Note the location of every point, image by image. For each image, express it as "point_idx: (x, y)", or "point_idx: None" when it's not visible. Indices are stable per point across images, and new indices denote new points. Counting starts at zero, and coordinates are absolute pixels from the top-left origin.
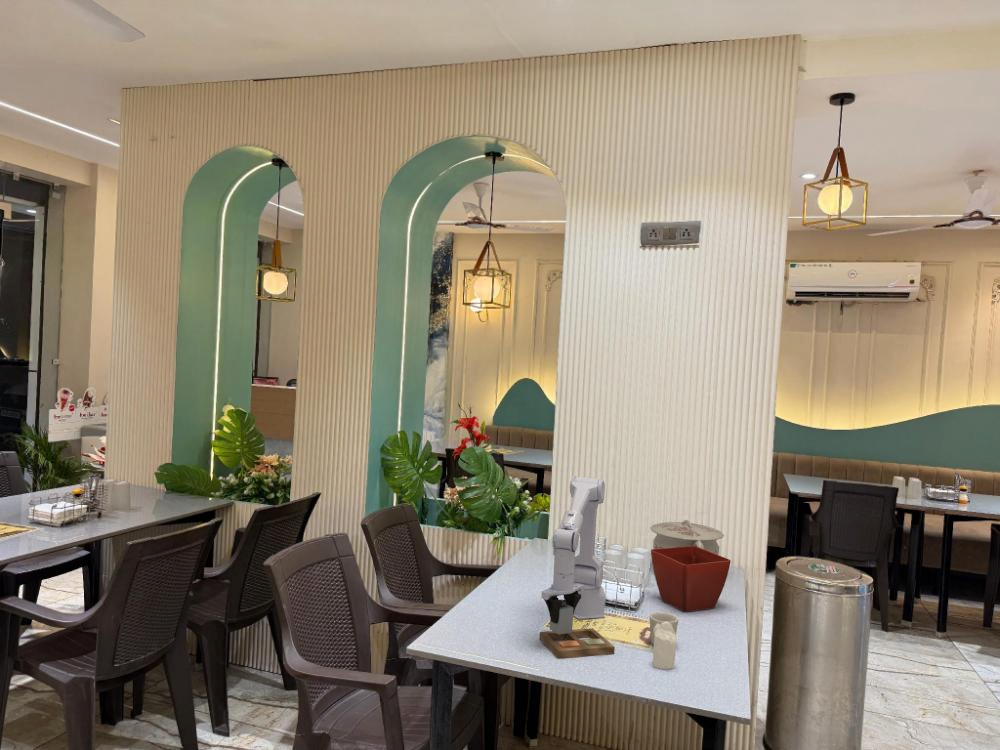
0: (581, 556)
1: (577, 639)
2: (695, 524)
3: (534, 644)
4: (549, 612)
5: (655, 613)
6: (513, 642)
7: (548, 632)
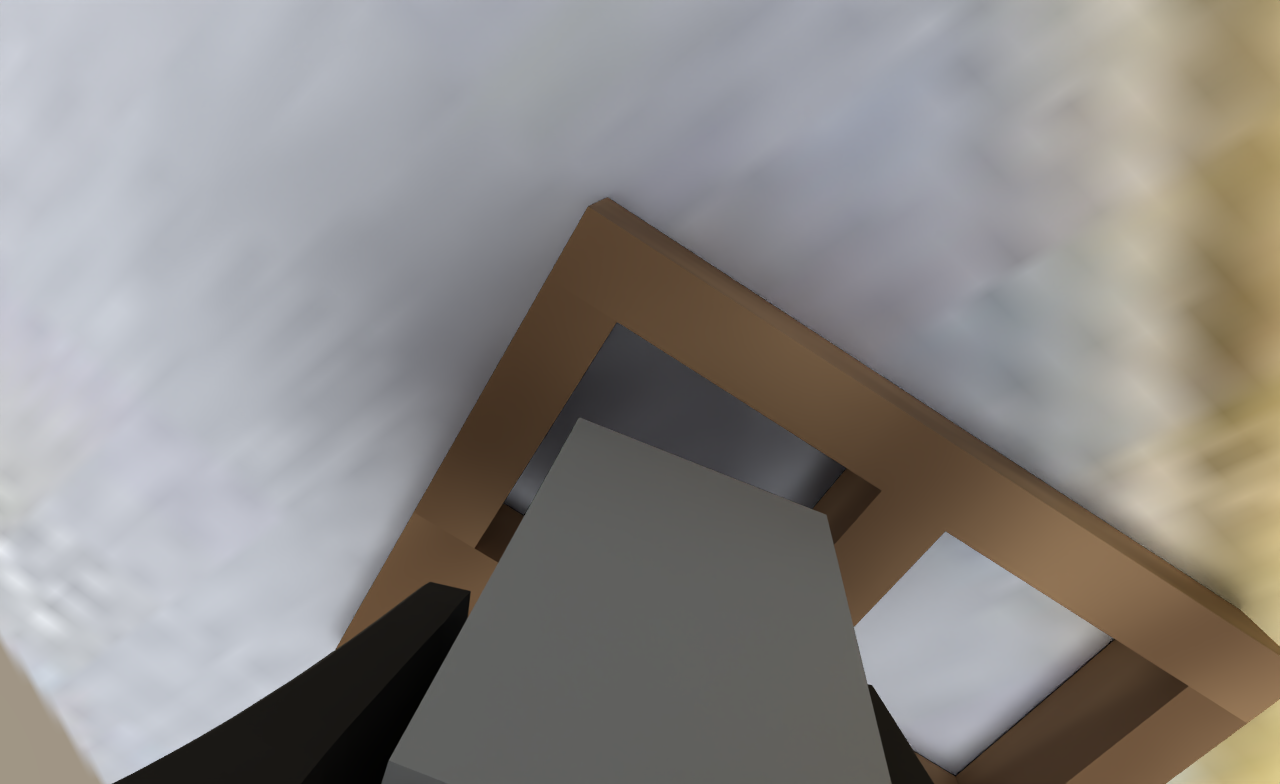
0: None
1: None
2: None
3: (418, 263)
4: (291, 692)
5: None
6: (236, 12)
7: (677, 312)
